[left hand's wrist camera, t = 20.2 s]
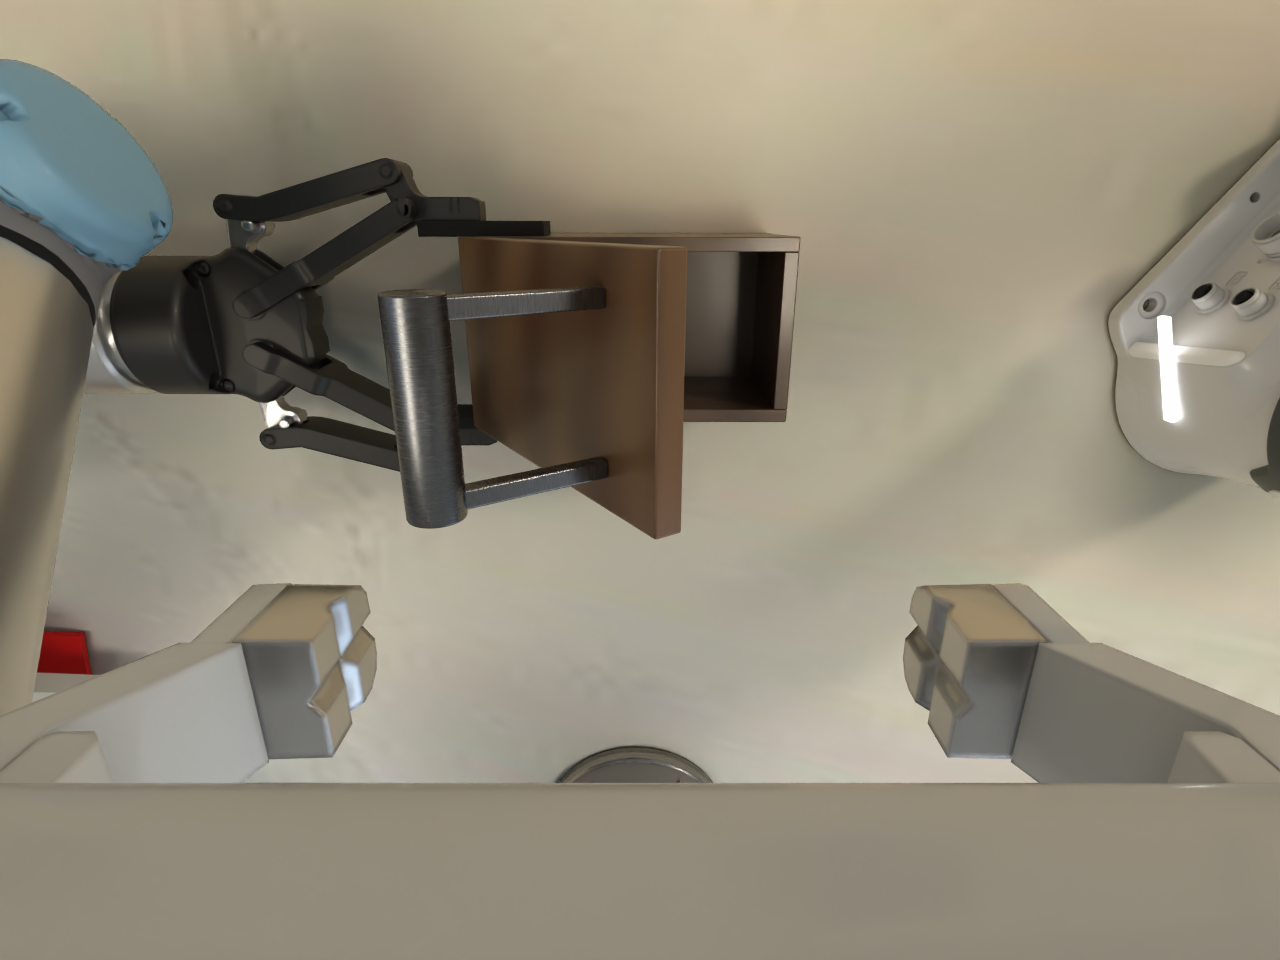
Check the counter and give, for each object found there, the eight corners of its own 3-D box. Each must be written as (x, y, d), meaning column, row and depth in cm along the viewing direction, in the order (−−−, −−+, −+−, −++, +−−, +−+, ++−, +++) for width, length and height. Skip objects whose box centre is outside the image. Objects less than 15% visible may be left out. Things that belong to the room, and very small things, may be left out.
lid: (688, 246, 21) (408, 253, 17) (681, 532, 25) (447, 601, 20) (479, 236, 34) (292, 238, 30) (493, 423, 38) (327, 450, 33)
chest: (769, 233, 43) (800, 236, 35) (759, 385, 47) (786, 422, 38) (505, 233, 43) (471, 236, 35) (515, 384, 47) (486, 421, 38)
